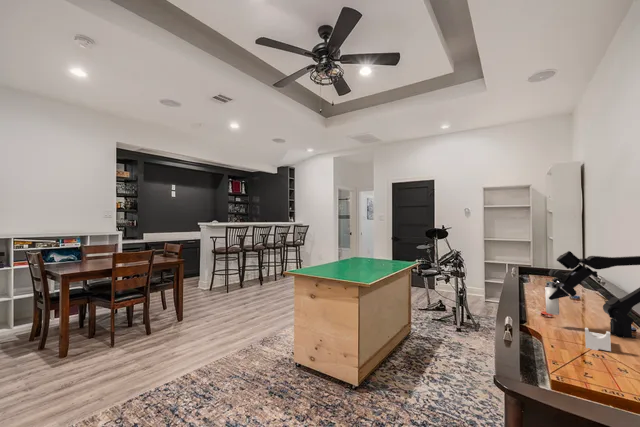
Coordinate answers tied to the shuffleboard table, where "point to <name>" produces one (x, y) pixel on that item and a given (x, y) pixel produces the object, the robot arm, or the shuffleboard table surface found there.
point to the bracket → (597, 340)
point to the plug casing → (551, 301)
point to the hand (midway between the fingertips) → (548, 297)
